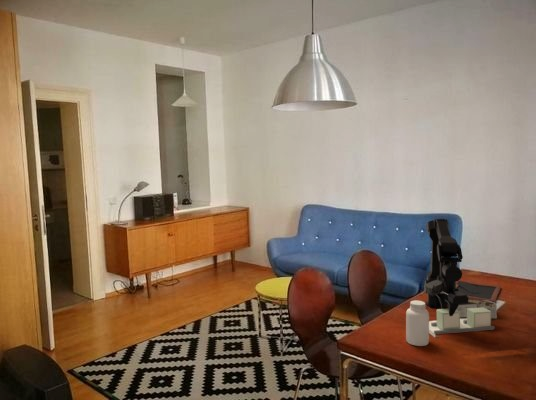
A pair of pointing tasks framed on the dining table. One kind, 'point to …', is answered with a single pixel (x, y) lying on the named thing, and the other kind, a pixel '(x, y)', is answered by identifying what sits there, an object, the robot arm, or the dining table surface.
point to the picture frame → (478, 291)
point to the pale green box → (448, 319)
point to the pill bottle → (417, 324)
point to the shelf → (463, 328)
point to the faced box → (478, 317)
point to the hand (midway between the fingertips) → (447, 313)
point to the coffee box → (477, 304)
